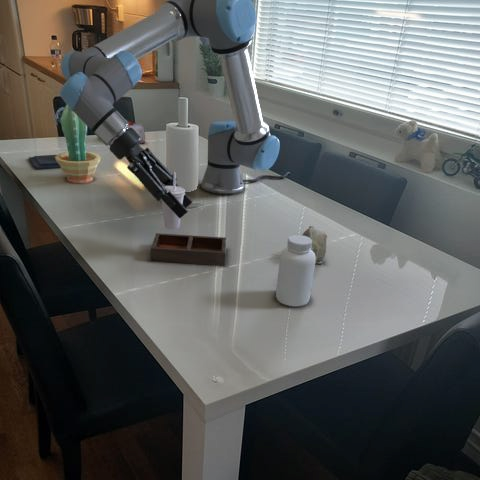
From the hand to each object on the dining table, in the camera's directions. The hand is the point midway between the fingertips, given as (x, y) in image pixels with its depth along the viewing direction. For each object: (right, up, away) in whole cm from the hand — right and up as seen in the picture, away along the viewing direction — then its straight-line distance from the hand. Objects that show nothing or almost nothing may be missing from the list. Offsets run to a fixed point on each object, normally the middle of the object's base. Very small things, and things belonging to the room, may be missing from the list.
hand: (186, 209), depth 126 cm
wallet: (-57, +34, +70) cm, 97 cm away
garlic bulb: (+33, -11, +11) cm, 37 cm away
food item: (-37, +53, +103) cm, 122 cm away
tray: (0, -11, +7) cm, 13 cm away
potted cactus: (-44, +23, +55) cm, 74 cm away
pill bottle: (+26, -23, -9) cm, 36 cm away
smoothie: (-4, -4, +3) cm, 6 cm away
